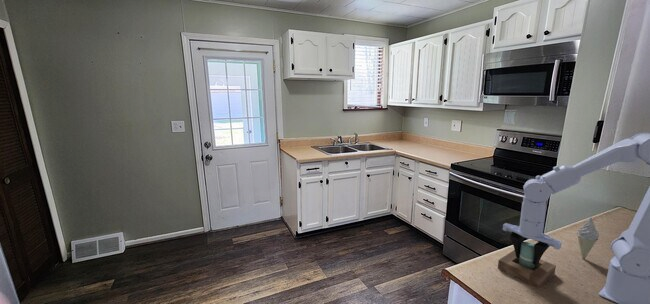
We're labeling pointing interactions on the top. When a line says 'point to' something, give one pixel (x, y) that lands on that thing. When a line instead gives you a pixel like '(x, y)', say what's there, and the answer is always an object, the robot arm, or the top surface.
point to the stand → (527, 270)
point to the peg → (527, 255)
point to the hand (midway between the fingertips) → (527, 260)
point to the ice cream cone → (587, 237)
